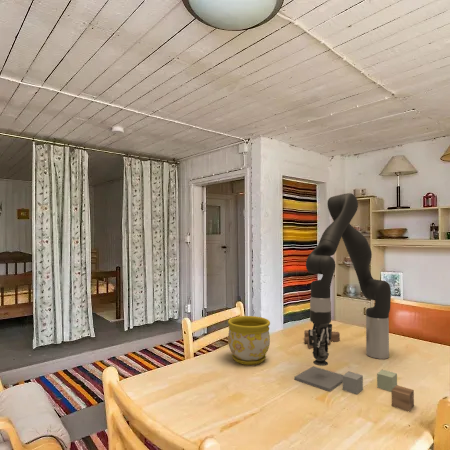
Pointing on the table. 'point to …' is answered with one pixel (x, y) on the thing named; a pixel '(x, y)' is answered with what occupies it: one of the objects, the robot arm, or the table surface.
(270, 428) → the table surface
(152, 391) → the table surface
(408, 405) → the walnut block
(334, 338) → the wooden block set
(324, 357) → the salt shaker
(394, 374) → the sage block
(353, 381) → the grey block
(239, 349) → the flowerpot
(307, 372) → the grey tile
